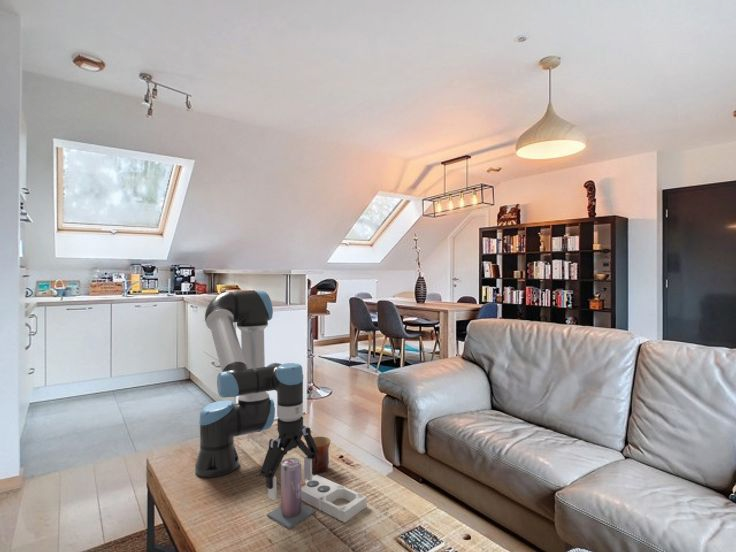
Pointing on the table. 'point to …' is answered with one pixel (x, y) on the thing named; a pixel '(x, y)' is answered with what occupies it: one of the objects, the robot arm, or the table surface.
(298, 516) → the coaster
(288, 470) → the beverage can
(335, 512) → the strip dock
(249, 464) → the table surface
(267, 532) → the table surface
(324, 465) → the mug
